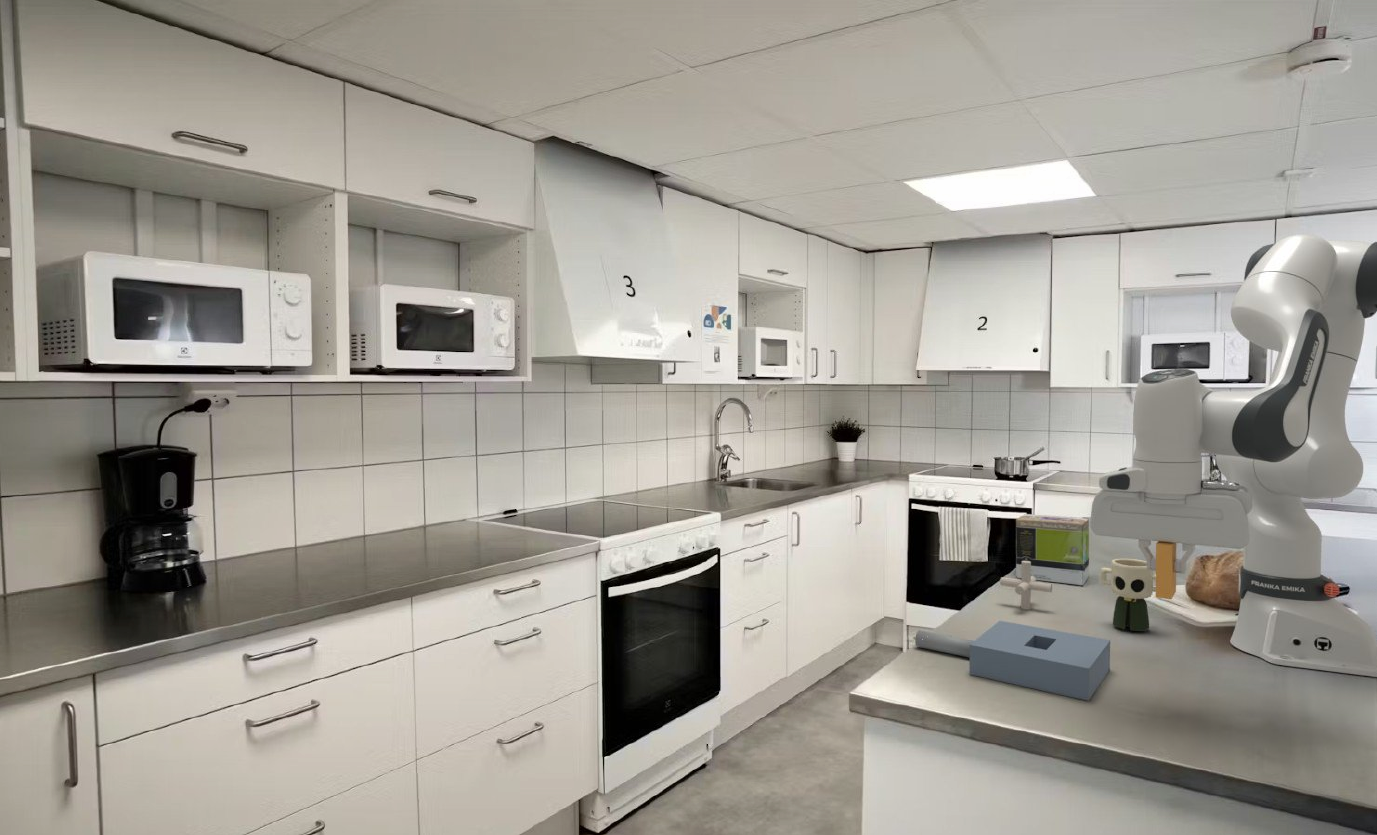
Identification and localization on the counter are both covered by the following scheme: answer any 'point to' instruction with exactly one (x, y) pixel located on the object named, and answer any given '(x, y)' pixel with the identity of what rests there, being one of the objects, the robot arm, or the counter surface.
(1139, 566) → the character mug
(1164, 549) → the orange rectangular block
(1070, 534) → the tea box
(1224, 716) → the counter surface
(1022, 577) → the pipe connector
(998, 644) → the blue holed block
